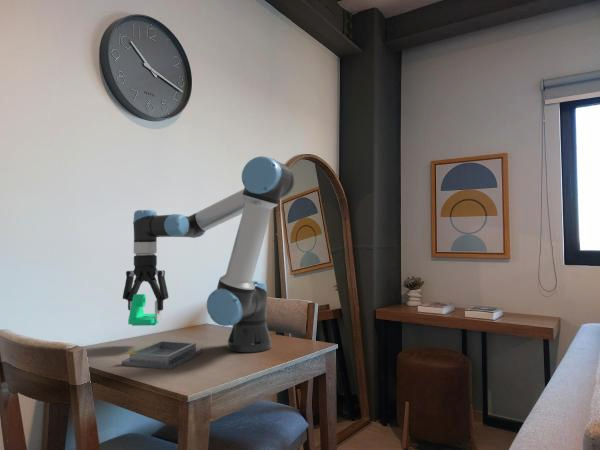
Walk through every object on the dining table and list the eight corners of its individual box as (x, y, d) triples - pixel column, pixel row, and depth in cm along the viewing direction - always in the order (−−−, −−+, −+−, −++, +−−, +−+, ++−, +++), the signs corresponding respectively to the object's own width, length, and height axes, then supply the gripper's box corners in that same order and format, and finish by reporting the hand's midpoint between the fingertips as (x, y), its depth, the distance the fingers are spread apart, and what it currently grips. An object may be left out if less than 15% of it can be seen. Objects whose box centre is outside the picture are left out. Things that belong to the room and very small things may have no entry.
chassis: (202, 352, 142) (202, 340, 142) (170, 369, 123) (170, 355, 123) (159, 348, 146) (159, 337, 146) (121, 365, 127) (122, 352, 127)
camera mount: (151, 327, 142) (152, 296, 142) (128, 327, 141) (128, 296, 142) (161, 320, 154) (161, 292, 154) (139, 321, 153) (139, 292, 154)
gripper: (179, 253, 150) (179, 318, 149) (124, 254, 155) (124, 317, 154) (167, 254, 143) (168, 322, 141) (111, 255, 148) (111, 321, 146)
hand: (145, 319), depth 148 cm, fingers closed on camera mount, 9 cm apart
